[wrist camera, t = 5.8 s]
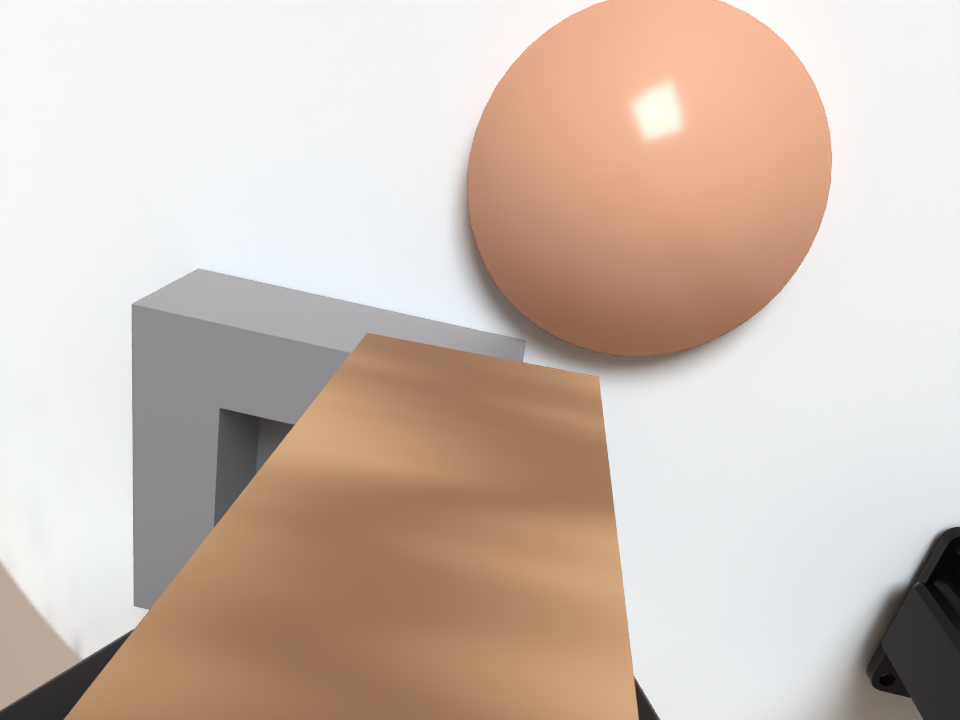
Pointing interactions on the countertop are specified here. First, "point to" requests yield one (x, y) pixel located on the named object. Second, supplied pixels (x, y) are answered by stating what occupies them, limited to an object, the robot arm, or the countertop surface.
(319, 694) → the walnut block
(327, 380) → the pocket holder
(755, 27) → the terracotta plate
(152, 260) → the countertop surface
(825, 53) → the countertop surface
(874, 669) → the robot arm
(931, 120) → the countertop surface
